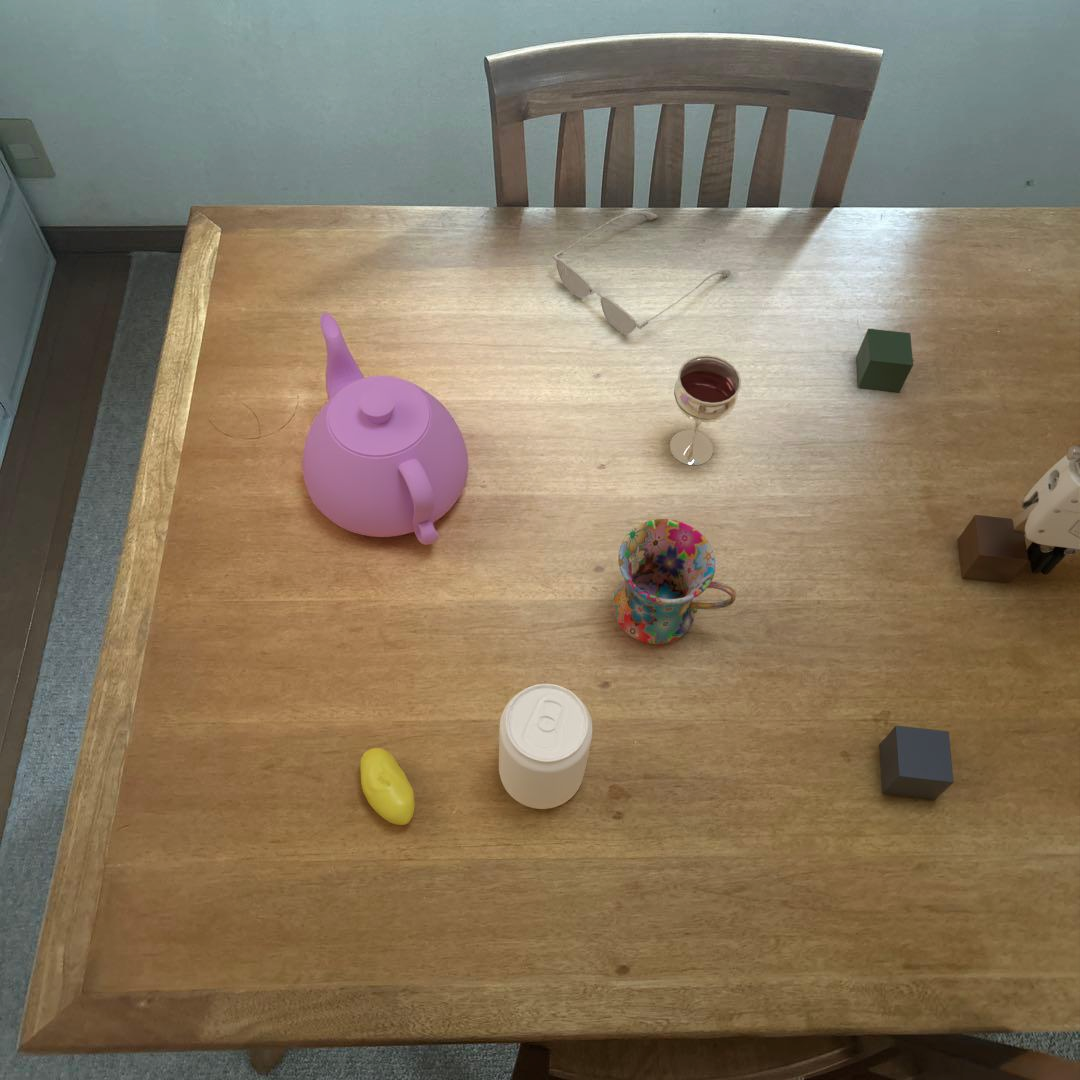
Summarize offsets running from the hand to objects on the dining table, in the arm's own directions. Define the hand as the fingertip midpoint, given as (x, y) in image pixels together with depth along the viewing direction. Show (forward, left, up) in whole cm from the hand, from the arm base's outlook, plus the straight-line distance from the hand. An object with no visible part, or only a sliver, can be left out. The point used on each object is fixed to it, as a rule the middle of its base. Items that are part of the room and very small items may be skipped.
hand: (1037, 561), depth 116 cm
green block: (+15, -25, -1) cm, 29 cm away
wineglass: (+37, -11, -1) cm, 39 cm away
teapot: (+71, -3, -1) cm, 71 cm away
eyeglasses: (+44, -37, -1) cm, 58 cm away
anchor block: (+15, +25, -1) cm, 29 cm away
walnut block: (+5, 0, -1) cm, 6 cm away
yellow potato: (+64, +33, -1) cm, 72 cm away
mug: (+39, +11, -1) cm, 41 cm away
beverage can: (+50, +29, -1) cm, 58 cm away
